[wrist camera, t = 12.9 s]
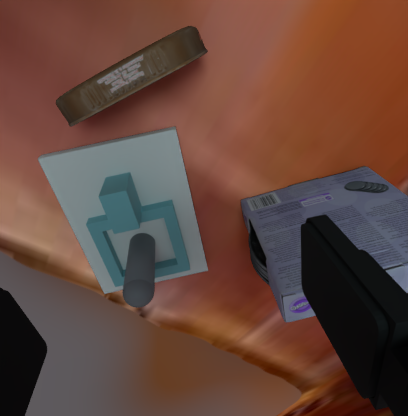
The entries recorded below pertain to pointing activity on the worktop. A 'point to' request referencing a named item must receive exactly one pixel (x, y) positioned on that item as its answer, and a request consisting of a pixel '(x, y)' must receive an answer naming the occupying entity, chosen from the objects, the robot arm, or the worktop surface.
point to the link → (133, 226)
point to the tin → (131, 74)
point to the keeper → (148, 194)
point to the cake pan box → (340, 214)
